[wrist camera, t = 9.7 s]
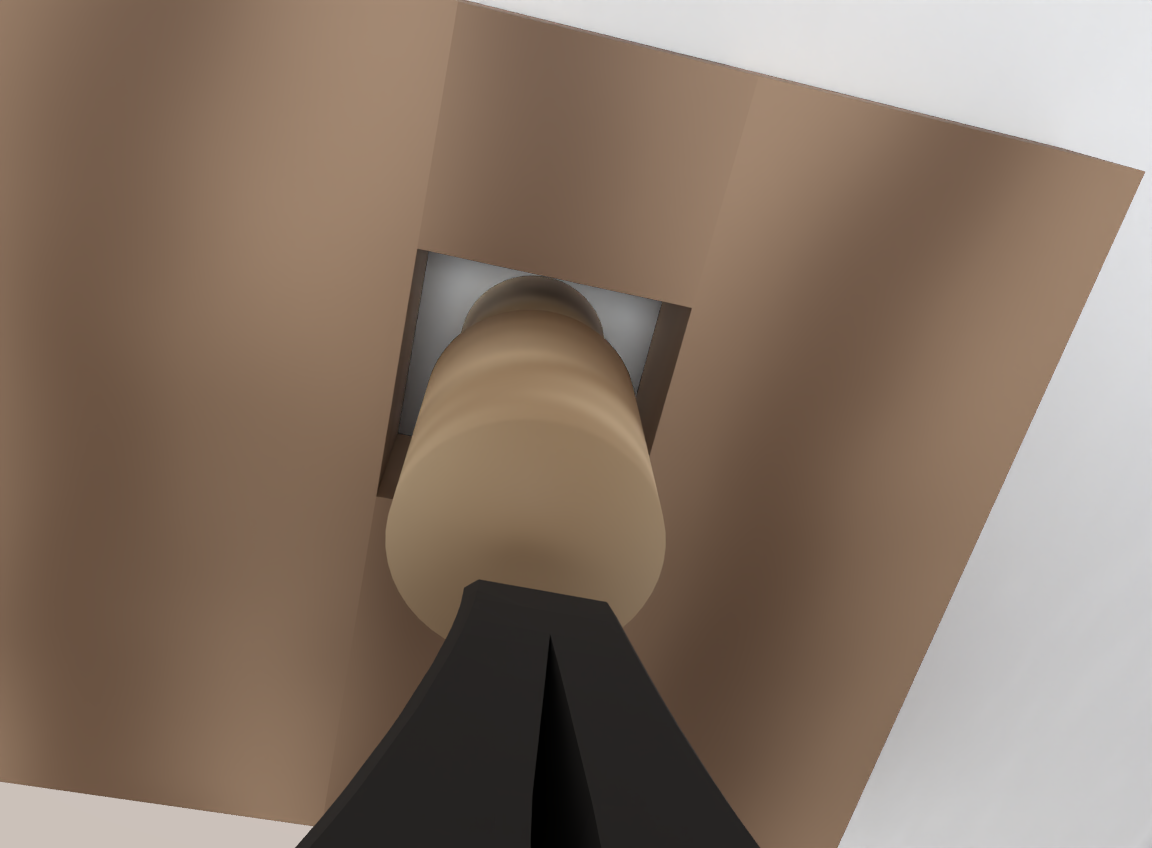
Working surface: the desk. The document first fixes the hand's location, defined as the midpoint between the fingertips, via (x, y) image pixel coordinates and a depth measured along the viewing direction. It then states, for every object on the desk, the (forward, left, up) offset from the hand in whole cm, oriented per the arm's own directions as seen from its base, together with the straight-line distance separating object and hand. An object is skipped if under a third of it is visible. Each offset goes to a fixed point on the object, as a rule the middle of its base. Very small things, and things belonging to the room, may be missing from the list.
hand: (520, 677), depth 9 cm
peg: (0, 0, -9) cm, 9 cm away
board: (+1, +2, -9) cm, 9 cm away
